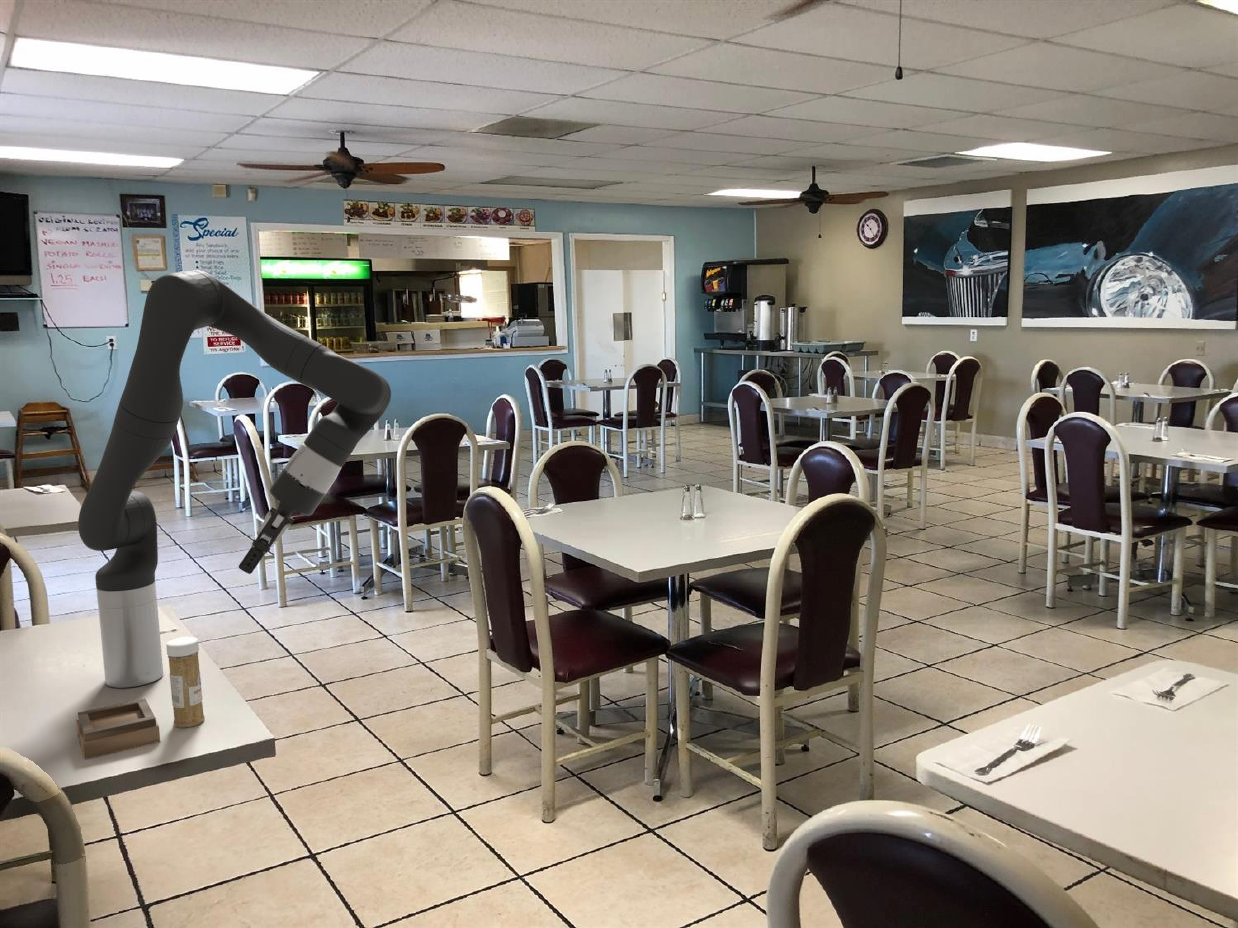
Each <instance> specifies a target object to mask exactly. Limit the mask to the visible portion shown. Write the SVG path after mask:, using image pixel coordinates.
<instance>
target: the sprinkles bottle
mask: <svg viewBox="0 0 1238 928" xmlns="http://www.w3.org/2000/svg"><path fill="white" fill-rule="evenodd" d="M165 645H166V655H167V658H168V665H169V684H170V691H171V693H170V694H171V704H172V709H173V718H174V719H173V725H174V726H175V727H178V728H190V727H195V726H198V725H200V724H202V723H203V721H205V719H206V717H205V715H204V705H203V691H202V680H201V671H200V663H199V662H200V661H199V651H200V645H199V639H198V638H197V637H194V636H182V637H177V638H174V639H171V640H169V641H167V643H166V644H165Z"/></svg>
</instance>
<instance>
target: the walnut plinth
mask: <svg viewBox="0 0 1238 928" xmlns="http://www.w3.org/2000/svg"><path fill="white" fill-rule="evenodd" d="M75 723H76V724H75V725H76V733H77V738H79V739H78V743H79V744H80V748H81V751H82V754H83V757H84V760H87V759H92V758H97V757H101V756H104V755H109V754H114V753H117V752H122V751H127V750H131V749H135V748H139V747H144V746H148V745H152V744H156V742H157V743H161V736H160V734H161V733H160V725H159V723H158V722H157V719H156V716H155V714H154V712H153V710H152V709H151V707H150V704H149V703H148V700H147V699H146V698H141V699H137V700H131V701H126V702H122V703H118V704H112V705H108V706H103V707H98V708H94V709H93V708H92V709H88V710H85V711H84V710H83V711H79V712H77V719H75Z"/></svg>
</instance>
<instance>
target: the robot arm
mask: <svg viewBox="0 0 1238 928" xmlns="http://www.w3.org/2000/svg"><path fill="white" fill-rule="evenodd" d="M206 327H209V328H212V329H215V330H217V331H221V332H224V333H226V334H229V335H231V336H233V337H235V338H237V339H238V340H240V341H242V342H243V343H245V344H246V345H247V346H248V347H249V348H250V349H252V350H253V351H254V352H255V353H256V355H258V356H259V357H260V358H261V359H262V360H263V361H264V362H265V363H266V364H267V365H268V366H270V367H271V368H272V369H274V370H275V371H277V372H278V373H280V374H281V375H283V376H286V377H287V378H290V379H292V380H294V381H296V382H297V383H299V384H301V385H303V386H305V387H308V388H310V389H311V390H314V391H318V392H319V393H321V394H323V395H324V396H326V397H327V398H329V399H331V400H333V401H334V402H336V403H337V405H336V406H335V407H334V409H333V410H332V411H331V412H330V413H329V414H328V415H324V416H322V417H321V418H320V419H319V420H318V421H317V422H316V424H315V425H314V426H313V428H312V430H311V431H310V433H309V434H308V435H307V437H306V438H305V439H304V441H303V443H302V444H301V445H300V446H299V447H298V448H297V450H296V451H295V452H294V453H293V454H292V455H291V457H290V458H289V460H288V462H287V463H286V464H285V466H284V467H283V469H282V471H281V472H280V473H279V475H278V476H277V478H276V479H275V481H274V482H273V483H272V485H271V487H270V488H269V493H270V495H271V496H272V497H273V498H274V499H276V500H278V501H279V503H278V506H277V508H276V507H274V506H271V508H270V509H269V510H268V512H267V513H266V515H265V517H264V520H263V521H262V523H261V525H260V526H259V528H258V529H257V531H256V535H257V537H255V539H253V541H252V542H251V547H250V548H249V549H248V551H247V553H246V554H245V556H244V557H243V559H241V561H240V563H239V564H238V569H239V570H241V571H242V572H244V573H246V574H248V575H251V574H252V573H253V572H254V570H255V569H256V568H257V566H258V564H259V563H260V561H261V560H262V559H263V557H264V556H265V555H266V554H267V553H269V551H270V550H271V547H272V546H273V545H276V544H277V543H278V542H279V541H280V539H281V538H282V536H283V535H284V534H285V532H287V531H288V530H289V529H290V528H291V526H292V524H293V523H294V521H295V519H294V518H292V514H294V513H295V512H298V513H299V514H300V515H304V516H312V515H313V513H315V510H316V509H317V508H318V506H319V505H320V503H321V501H323V499H324V497H325V496H326V495H327V493H328V491H329V490H330V488H331V487H332V485H333V484H334V482H335V481H337V477H338V476H339V474H340V471H341V470H342V468H343V466H345V464H346V462H347V461H348V459H349V457H350V456H351V455H352V453H353V452H354V450H355V448H356V446H357V445H358V443H359V442H360V441H361V440H362V439H363V438H364V437H365V436H366V434H368V433H369V431H370V430H371V429H372V428H373V426H374V425H376V423H378V421H379V420H380V418H381V417H382V416H383V414H384V413H385V411H386V410H387V408H388V407H389V405H390V401H391V397H392V391H391V386H390V384H389V383H388V381H387V379H386V378H384V377H383V376H382V375H380V374H379V373H377V372H376V371H374V370H373V369H371V368H368V367H367V366H365V365H362V364H360V363H358V362H355V361H353V360H352V359H349V358H347V357H344V356H342V355H339V354H337V353H336V352H335V351H333V350H332V349H330V348H329V347H327V346H325V345H323V344H322V343H319V342H318V341H316V340H314V339H312V338H310V337H309V336H306V335H304V334H302V333H300V332H299V331H297V330H295V329H292V328H291V327H289V326H288V325H285V324H284V323H282V322H280V321H278V320H277V319H276V318H274V317H272V316H271V315H269V314H267V313H265V312H264V311H262V310H261V309H260V308H258V307H257V306H255V304H252V303H251V302H250V301H248V300H246V299H245V298H244V297H243V296H241V295H240V294H238V293H237V292H235V291H234V290H233V289H232V288H231V287H229V286H228V285H226V284H225V282H222V281H221V280H219V279H218V278H217V277H216V276H215V275H212V274H210V273H209V272H206V271H203V270H199V269H189V270H188V269H186V270H183V271H175V272H170V273H166V274H163V275H161V276H159V277H158V278H157V279H155V280H154V282H152V284H151V285H150V287H149V289H148V292H147V294H146V298H145V302H144V307H143V312H142V319H141V324H140V330H139V333H138V334H139V336H138V341H137V346H136V350H135V352H134V353H135V354H134V356H133V359H132V362H131V365H130V369H129V372H128V377H127V379H126V382H125V386H124V388H123V389H124V390H123V392H122V394H121V397H120V400H119V403H118V406H117V409H116V412H115V416H114V419H113V423H112V428H111V431H110V435H109V437H108V439H107V442H106V443H107V444H106V446H105V448H104V452H103V455H102V458H101V460H100V462H99V465H98V468H97V469H96V470H97V471H96V473H95V475H94V478H93V479H92V482H91V484H90V486H89V489H88V491H87V492H86V495H85V497H84V500H83V502H82V503H81V504H82V505H81V507H80V510H79V514H78V519H77V521H78V522H77V523H78V524H77V527H78V528H77V529H78V533H79V537H80V540H81V541H82V543H83V544H84V545H85V546H86V547H87V548H88V549H90V550H93V551H96V552H97V551H98V552H105V551H111V550H116V551H115V553H114V554H113V556H111V558H110V559H109V560H108V561H107V562H106V563H105V564H103V566H102V567H100V568H99V569H98V570H97V571H96V573H95V577H94V578H95V579H94V580H95V587H96V598H97V606H98V607H97V608H98V615H99V616H98V617H99V630H100V637H101V649H102V650H101V651H102V660H103V670H104V682H105V685H107V686H108V687H111V688H118V689H119V688H121V689H123V688H132V687H139V686H143V685H147V684H150V683H153V682H155V681H157V680H160V679H161V678H162V677H163V676H164V667H163V666H164V663H163V654H162V641H161V631H160V619H159V609H158V597H157V586H156V570H157V567H158V562H159V554H158V553H159V552H158V551H159V550H158V548H159V547H158V523H157V515H156V511H155V507H154V505H153V503H152V501H151V500H150V498H149V496H147V495H146V494H145V493H143V492H141V491H138V490H134V488H135V486H136V484H137V483H138V481H139V480H140V479H141V478H142V477H143V475H144V474H145V473H146V472H147V471H148V470H149V469H150V468H151V467H152V466H153V465H154V464H155V462H156V461H158V459H160V457H161V456H162V454H163V453H164V452H166V450H167V449H168V447H169V446H170V444H171V442H172V440H173V438H174V437H175V436H174V435H175V434H176V430H177V427H178V423H179V421H180V417H181V415H182V412H183V407H184V406H183V405H184V394H183V387H182V382H181V374H180V372H181V363H182V361H183V356H184V354H185V352H186V349H187V346H188V343H189V342H190V341H189V340H190V339H191V337H192V335H193V333H194V331H195V330H199V329H204V328H206Z"/></svg>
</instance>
